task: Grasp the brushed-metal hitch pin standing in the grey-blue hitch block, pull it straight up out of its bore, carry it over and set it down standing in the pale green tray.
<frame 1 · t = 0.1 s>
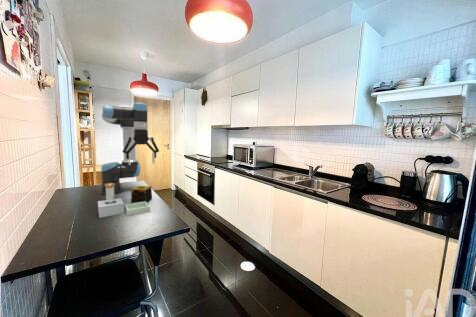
hand: (142, 163, 124), 28 cm above the table, fingers open, 13 cm apart
hitch block: (111, 212, 119), on the table
pin: (110, 198, 118), in the hitch block
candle: (142, 201, 139), on the table
tray: (137, 210, 122), on the table
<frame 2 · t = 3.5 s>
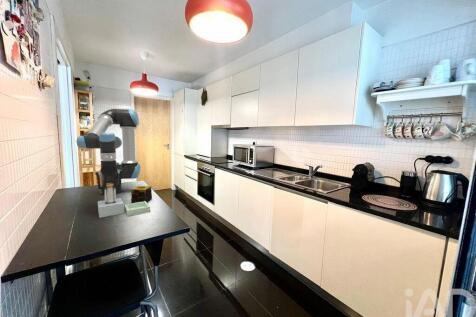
hand: (110, 199, 118), 8 cm above the table, fingers closed on pin, 4 cm apart
pin: (110, 198, 118), in the hitch block, touching gripper
everything else where it was.
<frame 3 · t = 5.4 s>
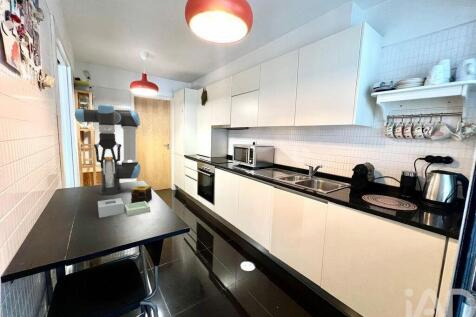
hand: (109, 173, 116), 23 cm above the table, fingers closed on pin, 4 cm apart
pin: (109, 172, 116), point 24 cm above the table, touching gripper
everything else where it was.
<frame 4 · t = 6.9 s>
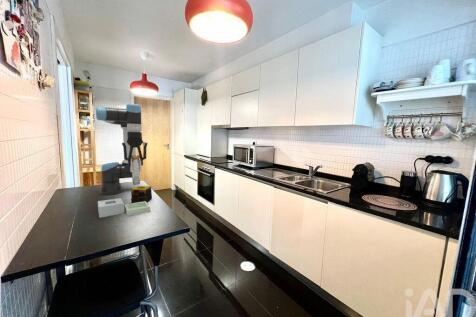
hand: (135, 171, 119), 24 cm above the table, fingers closed on pin, 4 cm apart
pin: (135, 169, 119), point 25 cm above the table, touching gripper
everything else where it was.
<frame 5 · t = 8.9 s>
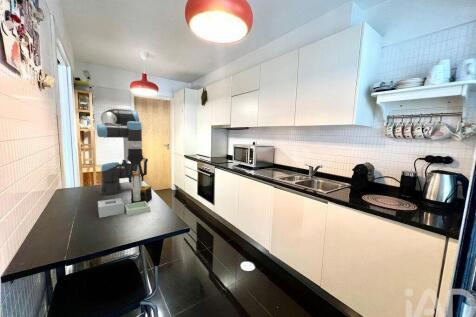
hand: (136, 187, 120), 15 cm above the table, fingers closed on pin, 4 cm apart
pin: (136, 186, 120), point 15 cm above the table, touching gripper
everything else where it was.
when the fingers open (9 cm above the table, at t = 10.6 s): pin stays where it is, resting on tray.
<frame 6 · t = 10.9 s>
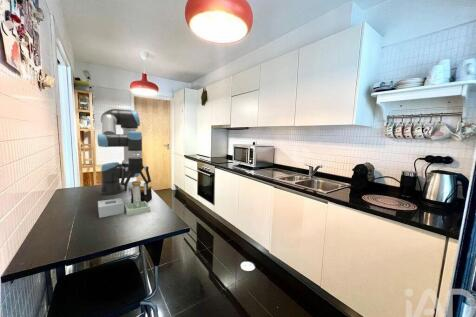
hand: (136, 195, 121), 10 cm above the table, fingers open, 9 cm apart
pin: (136, 196, 121), in the tray, point 9 cm above the table
everything else where it was.
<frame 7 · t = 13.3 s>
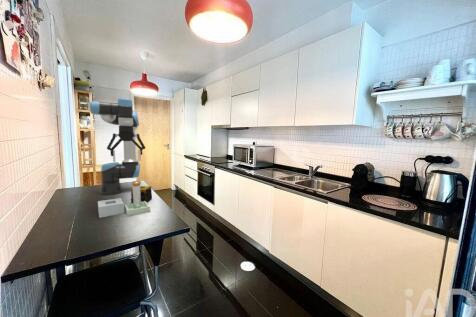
hand: (127, 161, 122), 30 cm above the table, fingers open, 13 cm apart
nothing on the table moved.
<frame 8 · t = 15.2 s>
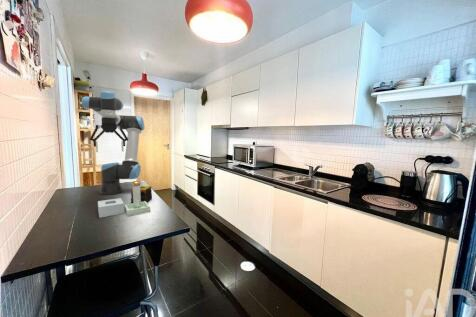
hand: (110, 151, 126), 35 cm above the table, fingers open, 13 cm apart
nothing on the table moved.
at the end: pin inside the target area on the tray (0.0 cm from its centre), point 9.2 cm above the tray's base; pin touching tray; the gripper is holding nothing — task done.
